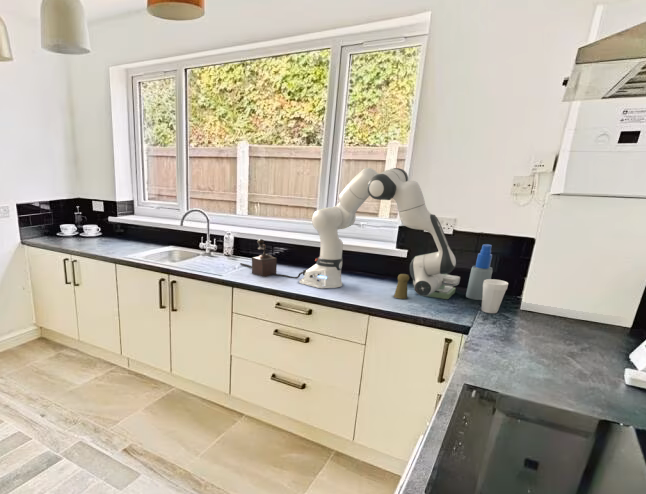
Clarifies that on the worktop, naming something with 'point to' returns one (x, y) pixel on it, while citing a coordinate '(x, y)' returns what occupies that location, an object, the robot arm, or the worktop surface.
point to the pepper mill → (263, 262)
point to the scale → (443, 292)
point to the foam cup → (493, 294)
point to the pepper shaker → (402, 286)
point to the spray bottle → (480, 273)
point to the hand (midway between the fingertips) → (440, 275)
